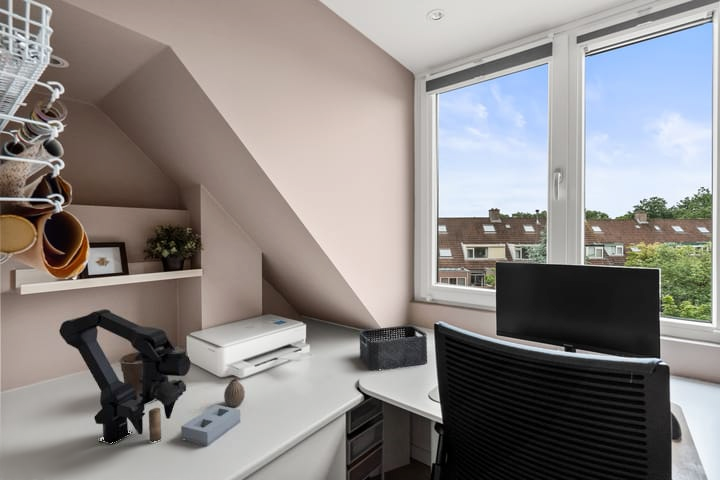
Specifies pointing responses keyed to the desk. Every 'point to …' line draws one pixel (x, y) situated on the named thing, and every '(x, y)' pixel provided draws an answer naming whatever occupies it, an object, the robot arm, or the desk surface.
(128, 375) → the plant pot
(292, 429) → the desk surface
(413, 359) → the storage bin
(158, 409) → the dowel
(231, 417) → the socket block
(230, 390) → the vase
